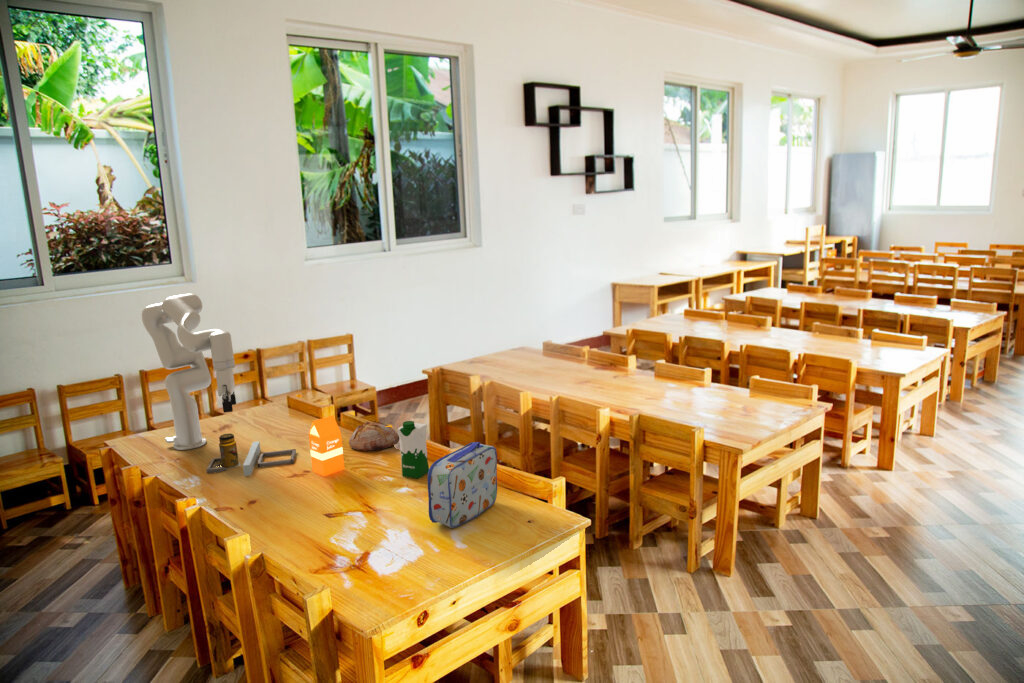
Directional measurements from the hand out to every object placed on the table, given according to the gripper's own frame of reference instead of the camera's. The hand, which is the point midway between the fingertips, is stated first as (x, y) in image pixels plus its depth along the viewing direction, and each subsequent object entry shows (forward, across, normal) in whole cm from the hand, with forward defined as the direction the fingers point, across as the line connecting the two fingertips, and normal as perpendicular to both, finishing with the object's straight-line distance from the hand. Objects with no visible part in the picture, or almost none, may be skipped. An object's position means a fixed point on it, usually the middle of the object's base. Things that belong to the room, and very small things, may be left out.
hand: (230, 408), depth 270 cm
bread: (+22, 0, +52) cm, 57 cm away
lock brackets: (+22, +3, +6) cm, 23 cm away
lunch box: (+23, +74, +76) cm, 109 cm away
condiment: (+22, +3, -3) cm, 22 cm away
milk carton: (+22, +36, +65) cm, 77 cm away
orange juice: (+22, +21, +34) cm, 46 cm away
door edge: (+22, +3, +6) cm, 23 cm away
